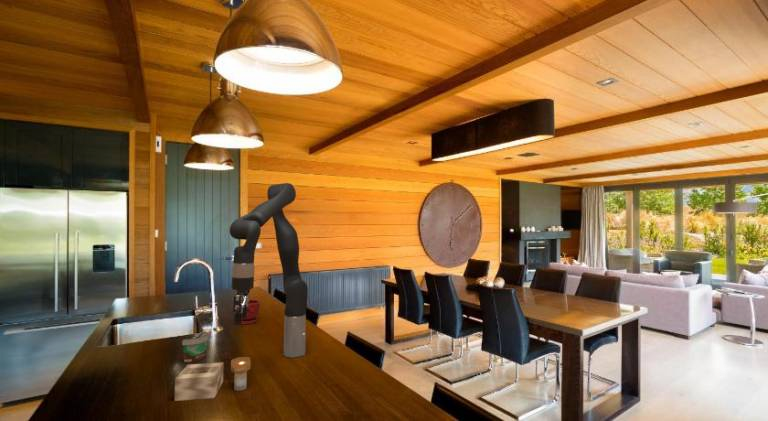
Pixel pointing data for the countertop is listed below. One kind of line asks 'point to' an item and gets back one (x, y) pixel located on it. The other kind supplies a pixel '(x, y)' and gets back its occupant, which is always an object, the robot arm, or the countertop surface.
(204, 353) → the food container
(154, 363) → the countertop surface
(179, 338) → the countertop surface
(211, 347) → the countertop surface
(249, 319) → the plant pot
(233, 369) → the copper pin
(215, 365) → the birch block
